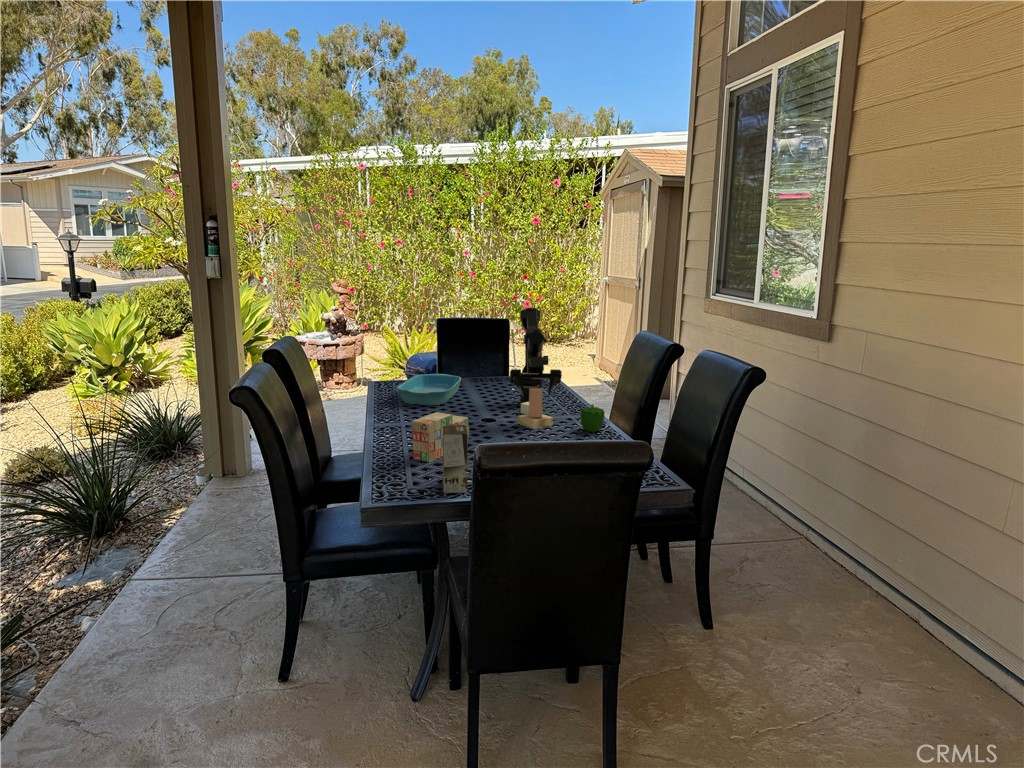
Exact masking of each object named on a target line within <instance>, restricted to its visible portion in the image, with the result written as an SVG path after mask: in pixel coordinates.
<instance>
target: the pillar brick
mask: <svg viewBox="0 0 1024 768" xmlns="http://www.w3.org/2000/svg"><path fill="white" fill-rule="evenodd" d="M542 414H543V388H529V417H542Z"/></svg>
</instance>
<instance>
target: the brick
mask: <svg viewBox="0 0 1024 768" xmlns="http://www.w3.org/2000/svg"><path fill="white" fill-rule="evenodd" d="M520 413H521V415H526V414H529V402H525V403H520Z"/></svg>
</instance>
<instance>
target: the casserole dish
mask: <svg viewBox="0 0 1024 768" xmlns="http://www.w3.org/2000/svg"><path fill="white" fill-rule="evenodd" d="M461 381H462V377H461V376H457V375H451V374H447V373H446V374H445V373H429V374H428V373H427V374H425V373H424V374H416V375H414V376H412V377H410V378H409V379H407V380H406V381H404V382H403V383H401V384H399V385H398V386H397V389H398V393H399V396H400V398H401V400H402V401H403V402H404V403H406V404H407V403H408V404H407V405H414V404H420V405H419V406H440V404H441V405H443V403H444V404H445V403H447V402H448V401H449V400H450V399H451V398H452V397H453V396H454V395H455V394H456V393H457V392H458V390H459V387H460V386H461V385H460V384H461Z"/></svg>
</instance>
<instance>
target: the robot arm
mask: <svg viewBox="0 0 1024 768" xmlns="http://www.w3.org/2000/svg"><path fill="white" fill-rule="evenodd" d="M541 313H542V312H541V310H540V309H538V308H537V307H527V308H525V309H522V310H520V311H519V321H520V323H521V327H522V329H523V331H524V334H523V345H525V346H524V347H525V348H524V350H525V351H524V352H525V353H524V357H525V359H524V361H525V362H524V363H525V364H524V366H523V368H522V370H521V369H520V368H516V369H515V368H514V369H512V368H511V369H510V371H509V383H510V384H513V385H514V386H516V387H517V389H518V390H519V392H520V401H518V403H519V404H521V403H525V402H529V388H542V386H543V385H542V384H543V380H549V382H548V391H547V392H548V393H547V395H548V396H547V397H549V398H550V396H551V393H552V390H553V389H554V387H555V386H557V385H558V384H561V381H562V376H563V375H562V370H561V369H550V370H549V372H548V373H547V372H546V373H545V372H544V371H545V366H549V355H543V350H544V345H545V344H546V343H547V338H546V336H545V335H544V334H543V330H542V329H541V328H540V327H539V322H541V316H542V315H541ZM542 389H543V388H542Z"/></svg>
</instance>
